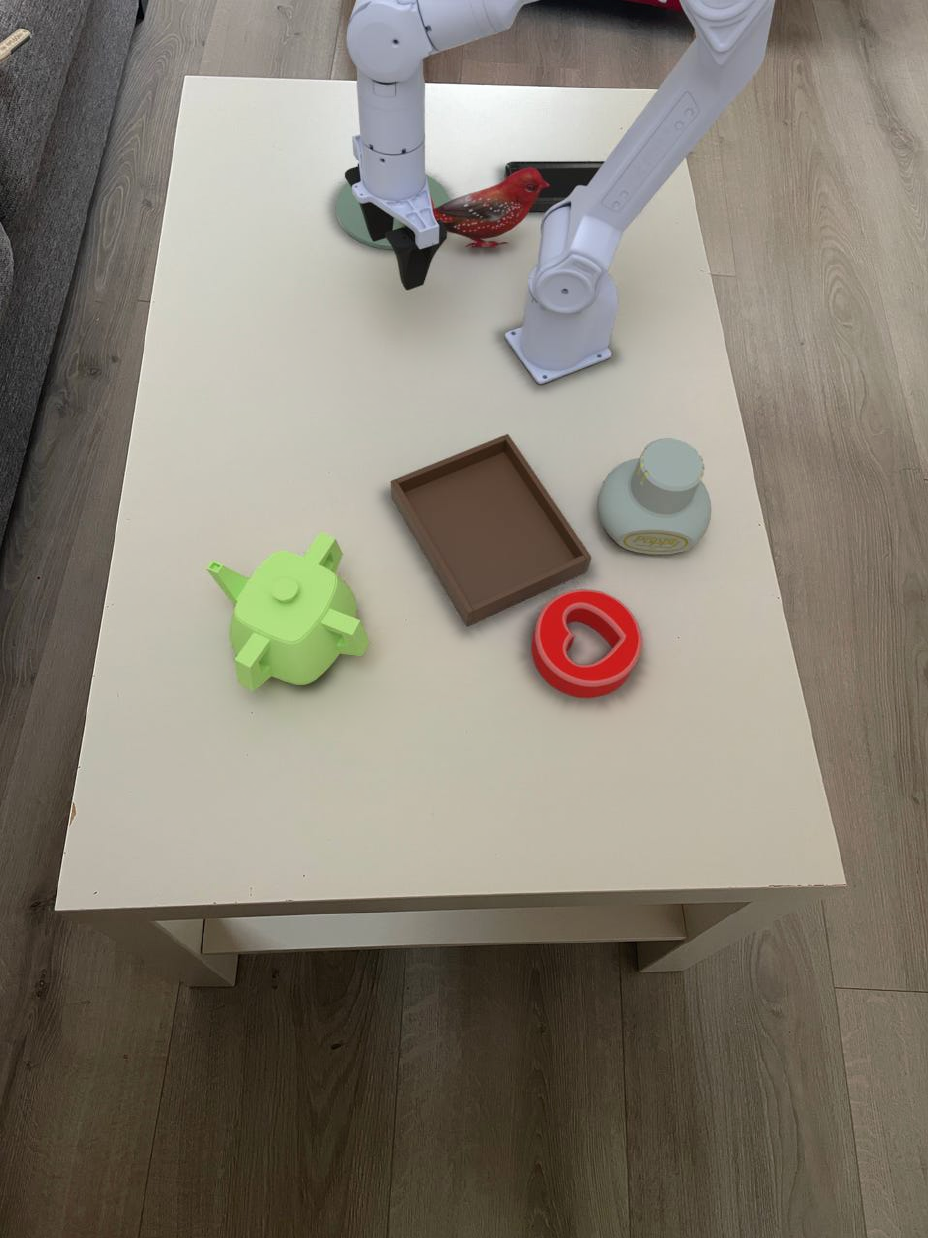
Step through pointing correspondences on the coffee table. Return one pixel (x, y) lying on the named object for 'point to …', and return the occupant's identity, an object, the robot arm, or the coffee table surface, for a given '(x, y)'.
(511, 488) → the tray
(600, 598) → the decorative ornament
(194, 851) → the coffee table surface
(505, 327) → the coffee table surface
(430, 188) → the plate
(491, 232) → the decorative bird figurine
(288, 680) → the teapot
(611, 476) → the air freshener
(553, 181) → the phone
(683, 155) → the robot arm
